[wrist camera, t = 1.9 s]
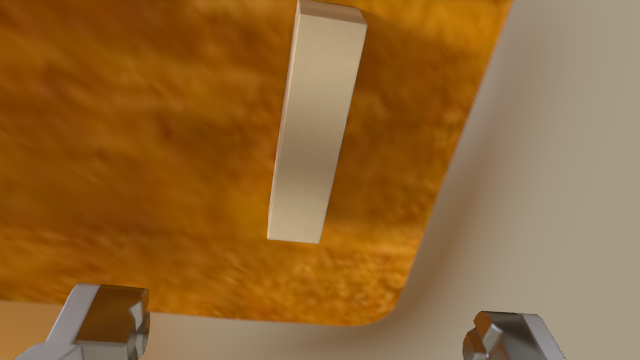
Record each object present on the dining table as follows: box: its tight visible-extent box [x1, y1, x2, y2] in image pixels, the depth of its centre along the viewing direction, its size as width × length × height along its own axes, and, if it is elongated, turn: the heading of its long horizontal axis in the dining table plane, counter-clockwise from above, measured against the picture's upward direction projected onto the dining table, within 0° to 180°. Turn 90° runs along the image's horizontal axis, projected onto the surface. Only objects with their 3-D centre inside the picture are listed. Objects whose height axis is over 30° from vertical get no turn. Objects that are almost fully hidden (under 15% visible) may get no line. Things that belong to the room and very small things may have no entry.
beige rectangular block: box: [267, 0, 368, 244], centre depth 19 cm, size 10×2×2 cm, turn 170°
